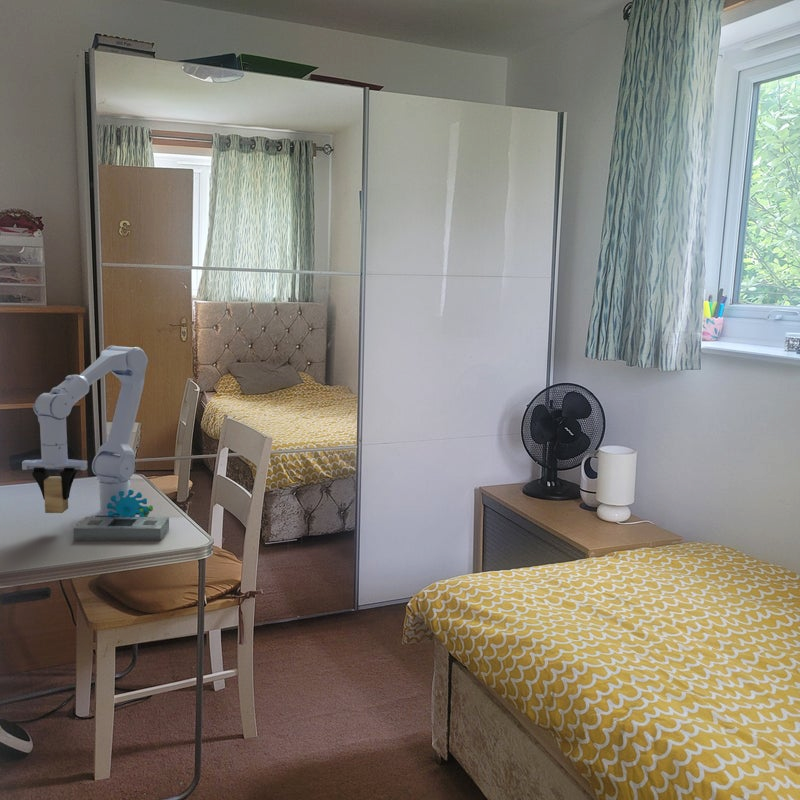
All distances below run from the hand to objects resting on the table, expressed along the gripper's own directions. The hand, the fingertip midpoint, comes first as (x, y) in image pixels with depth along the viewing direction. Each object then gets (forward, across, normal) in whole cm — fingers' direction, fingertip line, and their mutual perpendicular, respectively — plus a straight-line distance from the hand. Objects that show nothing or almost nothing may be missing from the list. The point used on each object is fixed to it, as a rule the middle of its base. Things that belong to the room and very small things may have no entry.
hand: (56, 498), depth 185 cm
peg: (+3, 0, 0) cm, 3 cm away
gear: (+9, +15, +8) cm, 19 cm away
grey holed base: (+8, +16, -2) cm, 18 cm away
